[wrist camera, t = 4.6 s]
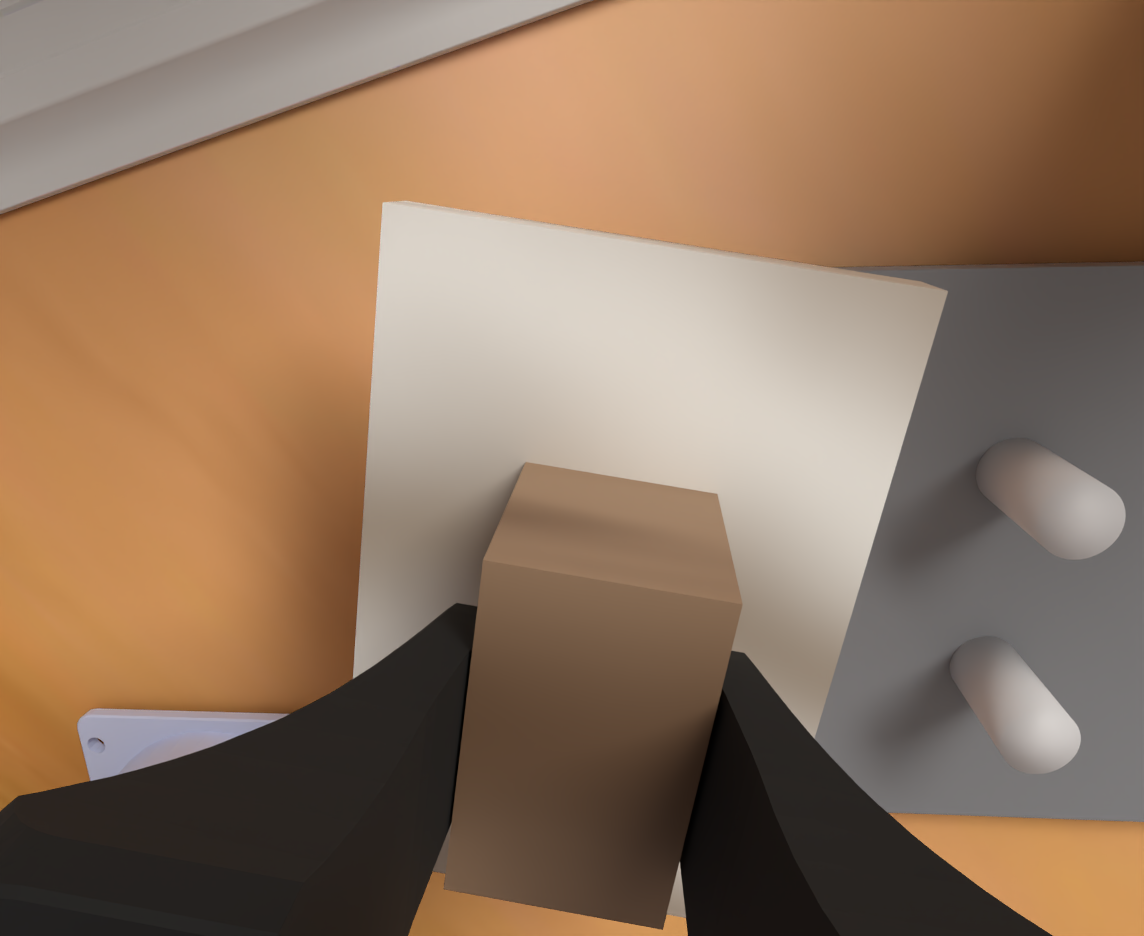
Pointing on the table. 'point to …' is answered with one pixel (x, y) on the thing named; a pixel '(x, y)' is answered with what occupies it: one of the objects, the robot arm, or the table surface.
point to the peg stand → (1008, 559)
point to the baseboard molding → (198, 71)
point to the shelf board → (635, 408)
